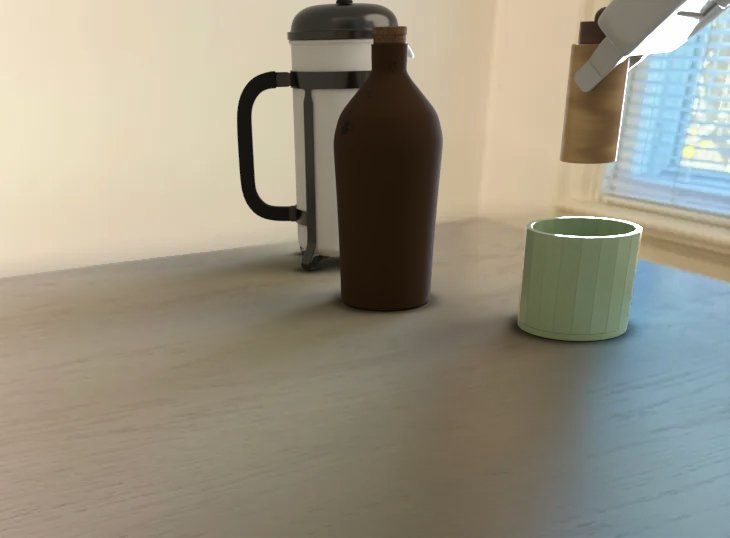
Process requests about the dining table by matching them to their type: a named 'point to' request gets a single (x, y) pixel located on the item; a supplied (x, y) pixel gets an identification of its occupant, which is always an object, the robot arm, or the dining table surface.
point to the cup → (578, 277)
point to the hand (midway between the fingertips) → (589, 84)
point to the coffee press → (314, 115)
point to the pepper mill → (592, 105)
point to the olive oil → (387, 183)
